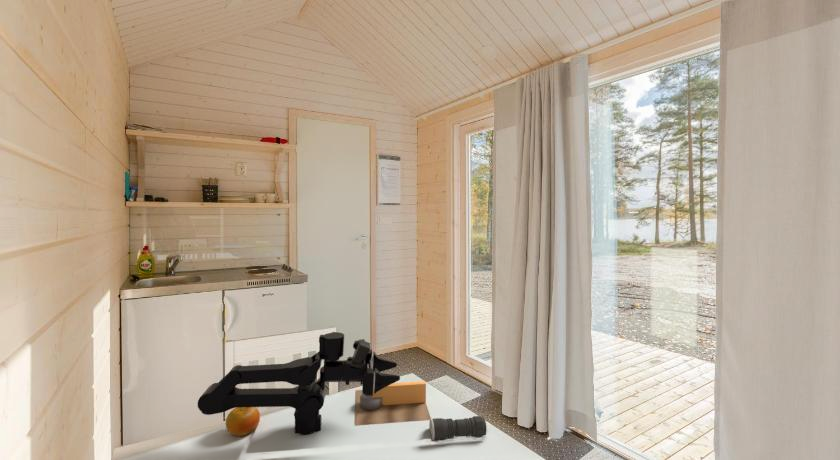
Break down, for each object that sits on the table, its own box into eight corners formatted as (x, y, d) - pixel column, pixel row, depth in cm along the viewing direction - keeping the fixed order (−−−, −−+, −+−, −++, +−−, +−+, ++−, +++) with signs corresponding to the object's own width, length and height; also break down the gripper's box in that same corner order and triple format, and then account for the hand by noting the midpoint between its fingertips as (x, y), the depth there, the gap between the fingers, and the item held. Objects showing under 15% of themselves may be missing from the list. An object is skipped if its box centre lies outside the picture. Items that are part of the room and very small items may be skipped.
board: (354, 430, 114) (354, 425, 114) (355, 394, 136) (355, 389, 136) (431, 424, 117) (431, 419, 117) (420, 390, 139) (420, 385, 139)
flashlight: (481, 429, 115) (482, 411, 115) (488, 440, 110) (488, 421, 110) (429, 433, 113) (429, 415, 112) (432, 445, 108) (432, 425, 107)
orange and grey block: (360, 411, 122) (360, 391, 121) (360, 400, 128) (360, 381, 128) (427, 406, 125) (427, 387, 124) (423, 395, 131) (423, 377, 131)
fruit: (216, 419, 113) (232, 397, 112) (243, 418, 120) (258, 397, 119) (225, 445, 108) (242, 421, 107) (253, 442, 114) (269, 419, 114)
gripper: (342, 355, 103) (403, 355, 105) (345, 332, 121) (396, 333, 124) (340, 397, 103) (400, 396, 106) (343, 368, 122) (394, 368, 124)
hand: (398, 371), depth 115 cm, fingers open, 9 cm apart
